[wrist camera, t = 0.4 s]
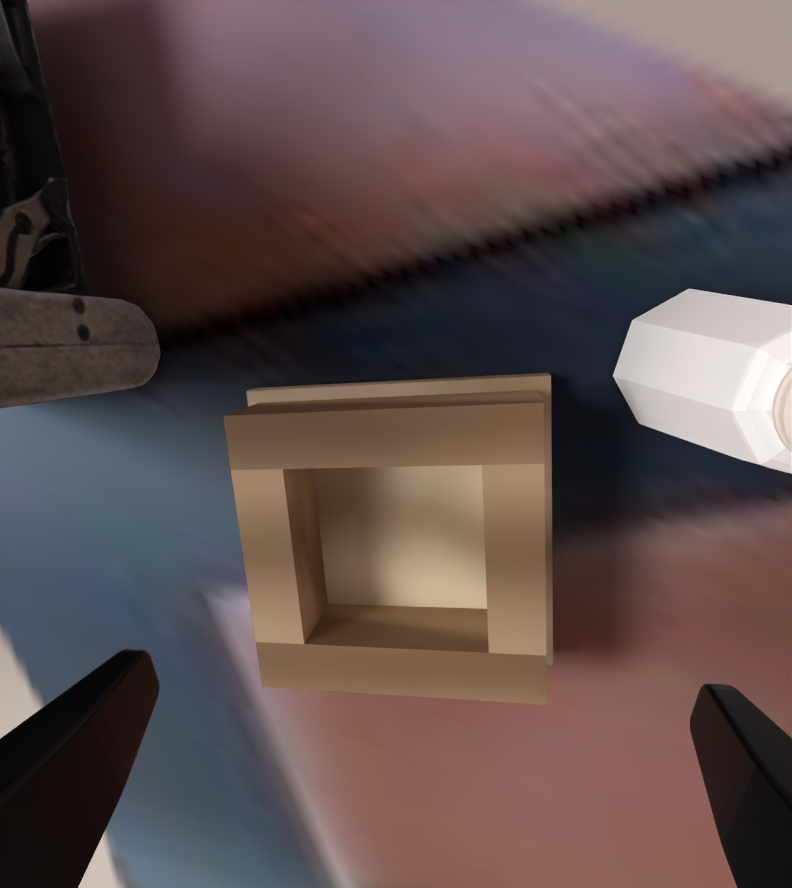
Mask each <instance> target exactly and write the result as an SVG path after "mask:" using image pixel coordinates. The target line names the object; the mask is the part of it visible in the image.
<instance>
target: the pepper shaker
mask: <svg viewBox="0 0 792 888" xmlns="http://www.w3.org/2000/svg"><path fill="white" fill-rule="evenodd" d="M613 377H614V379H615V381H616V383H617V385H618V386H619V388H620V390H621V392H622V394H623V396H624V397H625V399H626V401H627V403H628V405H629V407H630V408H631V410H632V412H633V414H634V416H635V418H636V420H637V421H638V423H639V424H641V425H644V426H647V427H650V428H653V429H656V430H658V431H661V432H664V433H667V434H670V435H673V436H675V437H678V438H681V439H684V440H687V441H690V442H692V443H695V444H698V445H701V446H704V447H707V448H709V449H712V450H715V451H718V452H721V453H724V454H727V455H729V456H732V457H735V458H738V459H741V460H744V461H748V462H752V463H756V464H759V465H762V466H765V467H768V468H772V469H776V470H779V471H783V472H787V473H791V474H792V305H787V304H781V303H774V302H768V301H762V300H756V299H750V298H744V297H737V296H731V295H725V294H719V293H713V292H707V291H700V290H694V289H687V290H686V291H684V292H682V293H680V294H678V295H677V296H675V297H673V298H671V299H669V300H668V301H666V302H664V303H662V304H661V305H659V306H657V307H655V308H653V309H652V310H650V311H648V312H646V313H644V314H643V315H641V316H639V317H637V318H635V319H634V320H632V322H631V325H630V328H629V331H628V334H627V337H626V340H625V342H624V345H623V348H622V351H621V354H620V357H619V360H618V362H617V365H616V368H615V371H614V374H613Z"/></svg>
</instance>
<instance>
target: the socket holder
mask: <svg viewBox="0 0 792 888" xmlns="http://www.w3.org/2000/svg"><path fill="white" fill-rule="evenodd" d="M246 394H247V401H248V407H246V408H243V409H240V410H238V411H235V412H232V413H230V414H227V415H224V416H223V420H224V427H225V434H226V440H227V447H228V454H229V461H230V468H231V475H232V482H233V489H234V495H235V502H236V509H237V516H238V523H239V530H240V537H241V543H242V550H243V557H244V564H245V571H246V578H247V585H248V592H249V598H250V605H251V612H252V619H253V626H254V633H255V640H256V646H257V653H258V660H259V667H260V674H261V681H262V686H263V687H278V688H294V689H309V690H325V691H341V692H356V693H372V694H387V695H403V696H418V697H434V698H450V699H465V700H481V701H496V702H512V703H528V704H543V705H547V665H553V582H552V443H551V375H550V374H549V373H533V374H514V375H494V376H475V377H456V378H437V379H418V380H399V381H380V382H360V383H341V384H322V385H303V386H284V387H265V388H255V389H251V390H248V391H246Z"/></svg>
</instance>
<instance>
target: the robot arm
mask: <svg viewBox="0 0 792 888" xmlns="http://www.w3.org/2000/svg"><path fill="white" fill-rule="evenodd" d="M158 694H159V681H158V677H157V674H156V671H155V668H154V665H153V662H152V659H151V656H150V654H149V653H148V652H147V651H145V650H134V649H125V650H122V651H120V652H118V653H117V654H115V655H114V656H113V657H111V658H110V659H108V660H107V661H106V662H104V663H103V664H102V665H100V666H99V667H98V668H96V669H95V670H93V671H92V672H91V673H89V674H88V675H87V676H85V677H84V678H83V679H81V680H80V681H78V682H77V683H76V684H74V685H73V686H72V687H70V688H69V689H68V690H66V691H65V692H63V693H62V694H61V695H59V696H58V697H57V698H55V699H54V700H53V701H51V702H50V703H48V704H47V705H46V706H44V707H43V708H42V709H40V710H39V711H38V712H36V713H35V714H33V715H32V716H31V717H29V718H28V719H27V720H25V721H24V722H23V723H21V724H20V725H19V726H17V727H16V728H14V729H13V730H12V731H10V732H9V733H8V734H6V735H5V736H3V737H2V738H1V739H0V888H78V886H79V884H80V882H81V880H82V878H83V875H84V873H85V871H86V869H87V867H88V865H89V863H90V861H91V859H92V857H93V854H94V852H95V850H96V848H97V846H98V844H99V842H100V840H101V838H102V835H103V833H104V831H105V829H106V827H107V825H108V823H109V821H110V818H111V816H112V814H113V812H114V810H115V808H116V806H117V803H118V801H119V799H120V797H121V795H122V792H123V790H124V787H125V785H126V782H127V780H128V777H129V775H130V772H131V769H132V766H133V764H134V761H135V758H136V756H137V753H138V750H139V747H140V745H141V742H142V739H143V736H144V734H145V731H146V728H147V725H148V723H149V720H150V717H151V714H152V712H153V709H154V706H155V704H156V701H157V698H158ZM690 730H691V735H692V739H693V743H694V746H695V750H696V754H697V757H698V761H699V765H700V768H701V772H702V776H703V780H704V783H705V787H706V791H707V794H708V798H709V802H710V805H711V809H712V813H713V816H714V820H715V824H716V827H717V831H718V834H719V837H720V841H721V844H722V847H723V850H724V852H725V855H726V858H727V861H728V864H729V866H730V869H731V872H732V874H733V877H734V880H735V882H736V885H737V888H792V738H791V737H790V736H788V735H787V734H786V733H785V732H784V731H783V730H782V729H781V728H780V727H778V726H777V725H776V724H775V723H774V722H773V721H772V720H771V719H770V718H768V717H767V716H766V715H765V714H764V713H763V712H762V711H761V710H760V709H758V708H757V707H756V706H755V705H754V704H753V703H752V702H751V701H749V700H748V699H747V698H746V697H745V696H744V695H743V694H742V693H741V692H739V691H738V690H737V689H736V688H734V687H732V686H730V685H721V684H704V685H703V686H702V687H701V688H700V691H699V694H698V697H697V699H696V702H695V705H694V708H693V711H692V714H691V718H690Z"/></svg>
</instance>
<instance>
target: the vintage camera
mask: <svg viewBox="0 0 792 888" xmlns="http://www.w3.org/2000/svg"><path fill="white" fill-rule="evenodd" d="M160 355H161V353H160V346H159V341H158V336H157V333H156V330H155V328H154V325H153V322H152V321H151V320H150V319H149V318H148V317H147V316H146V314H145V313H144V312H143V311H142V310H141V309H140V307H139V306H137V305H134V304H132V303H130V302H127V301H125V300H121V299H113V298H103V297H92V296H89V294H88V289H87V285H86V279H85V273H84V267H83V260H82V255H81V250H80V245H79V240H78V235H77V230H76V227H75V225H74V222H73V219H72V216H71V213H70V204H69V196H68V185H67V177H66V172H65V167H64V162H63V157H62V153H61V149H60V144H59V140H58V136H57V131H56V127H55V123H54V118H53V113H52V109H51V104H50V100H49V95H48V91H47V87H46V83H45V79H44V75H43V71H42V66H41V62H40V57H39V53H38V48H37V44H36V39H35V35H34V30H33V26H32V21H31V17H30V13H29V8H28V4H27V0H0V408H5V407H12V406H20V405H28V404H35V403H42V402H49V401H55V400H62V399H69V398H75V397H82V396H88V395H94V394H99V393H106V392H112V391H118V390H128V389H132V388H135V387H138V386H141V385H144V384H145V383H147V382H148V381H149V380H150V379H151V377H152V376H153V374H154V373H155V371H156V370H157V367H158V363H159V359H160Z"/></svg>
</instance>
